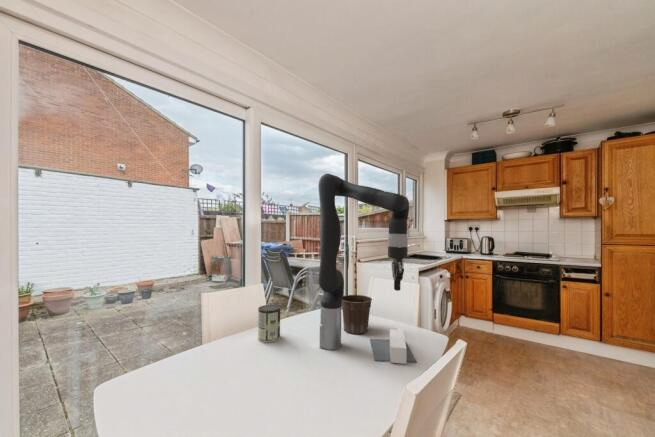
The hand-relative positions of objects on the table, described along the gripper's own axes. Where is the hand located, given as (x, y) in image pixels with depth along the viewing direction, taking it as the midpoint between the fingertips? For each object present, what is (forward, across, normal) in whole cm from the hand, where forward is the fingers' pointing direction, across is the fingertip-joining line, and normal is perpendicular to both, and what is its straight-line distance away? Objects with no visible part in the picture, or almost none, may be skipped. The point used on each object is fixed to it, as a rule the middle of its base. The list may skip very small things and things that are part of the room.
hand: (397, 290), depth 110 cm
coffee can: (+28, -20, -55) cm, 65 cm away
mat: (+28, -11, 0) cm, 30 cm away
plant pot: (+28, -34, -14) cm, 46 cm away
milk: (+24, +1, 0) cm, 25 cm away
